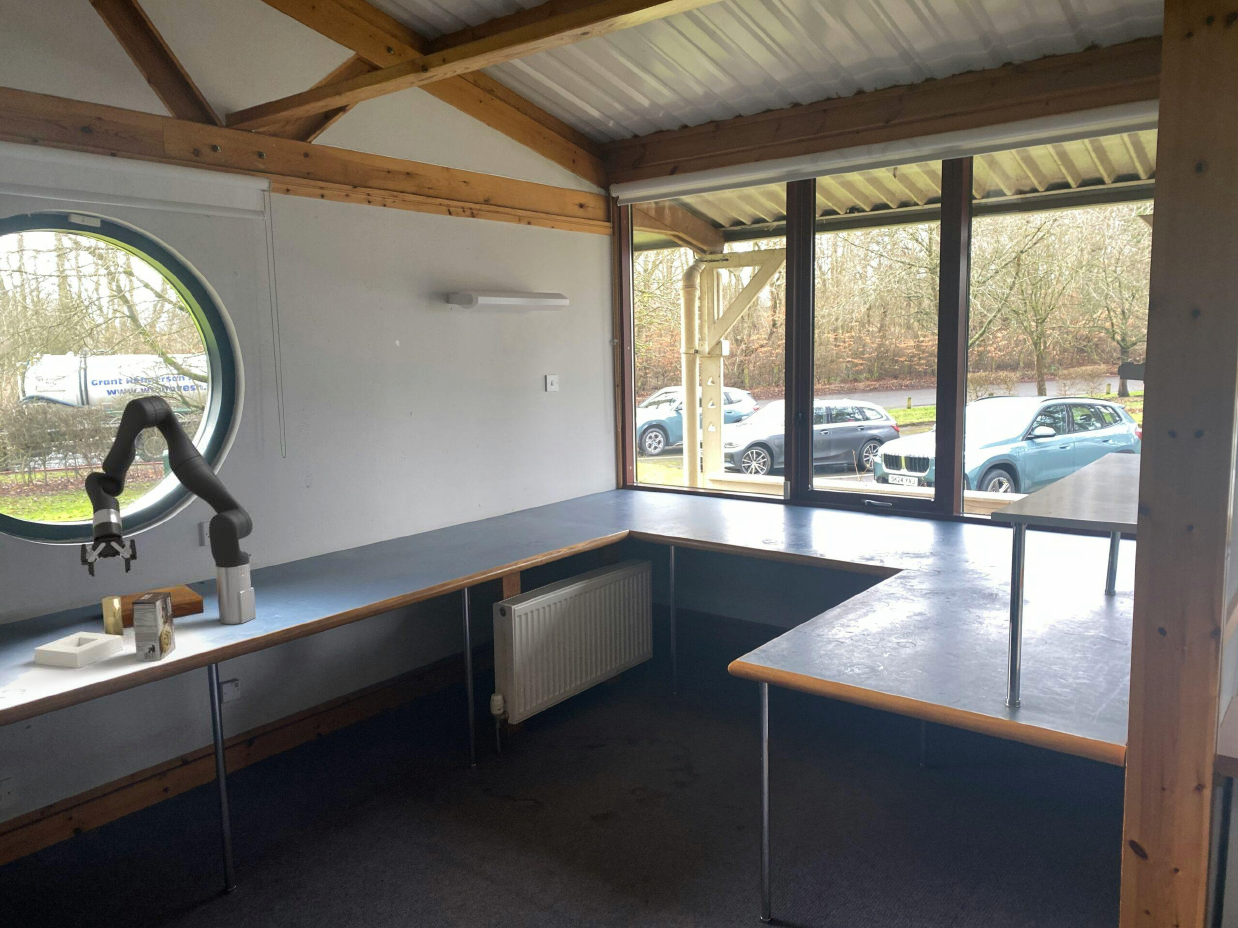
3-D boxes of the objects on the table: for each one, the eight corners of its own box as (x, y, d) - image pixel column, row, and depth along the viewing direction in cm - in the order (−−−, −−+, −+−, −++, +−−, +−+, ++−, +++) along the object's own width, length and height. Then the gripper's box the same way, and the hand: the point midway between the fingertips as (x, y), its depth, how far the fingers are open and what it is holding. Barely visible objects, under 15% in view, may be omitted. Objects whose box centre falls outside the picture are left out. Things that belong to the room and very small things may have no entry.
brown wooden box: (120, 631, 252) (118, 612, 251) (105, 617, 266) (103, 599, 265) (204, 614, 268) (202, 595, 267) (185, 601, 281) (184, 584, 280)
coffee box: (151, 649, 235) (147, 591, 233) (176, 648, 235) (171, 591, 233) (135, 661, 226) (130, 601, 224) (161, 660, 226) (156, 600, 224)
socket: (122, 649, 234) (121, 635, 234) (78, 668, 221) (77, 653, 221) (81, 645, 238) (80, 631, 238) (35, 663, 225) (34, 648, 224)
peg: (127, 633, 248) (124, 596, 246) (114, 638, 244) (111, 601, 242) (114, 632, 249) (111, 595, 248) (101, 637, 245) (98, 600, 243)
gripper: (78, 523, 254) (80, 569, 246) (133, 518, 261) (137, 563, 253) (80, 537, 259) (82, 583, 251) (135, 532, 266) (138, 576, 258)
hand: (110, 573), depth 252 cm, fingers open, 8 cm apart
